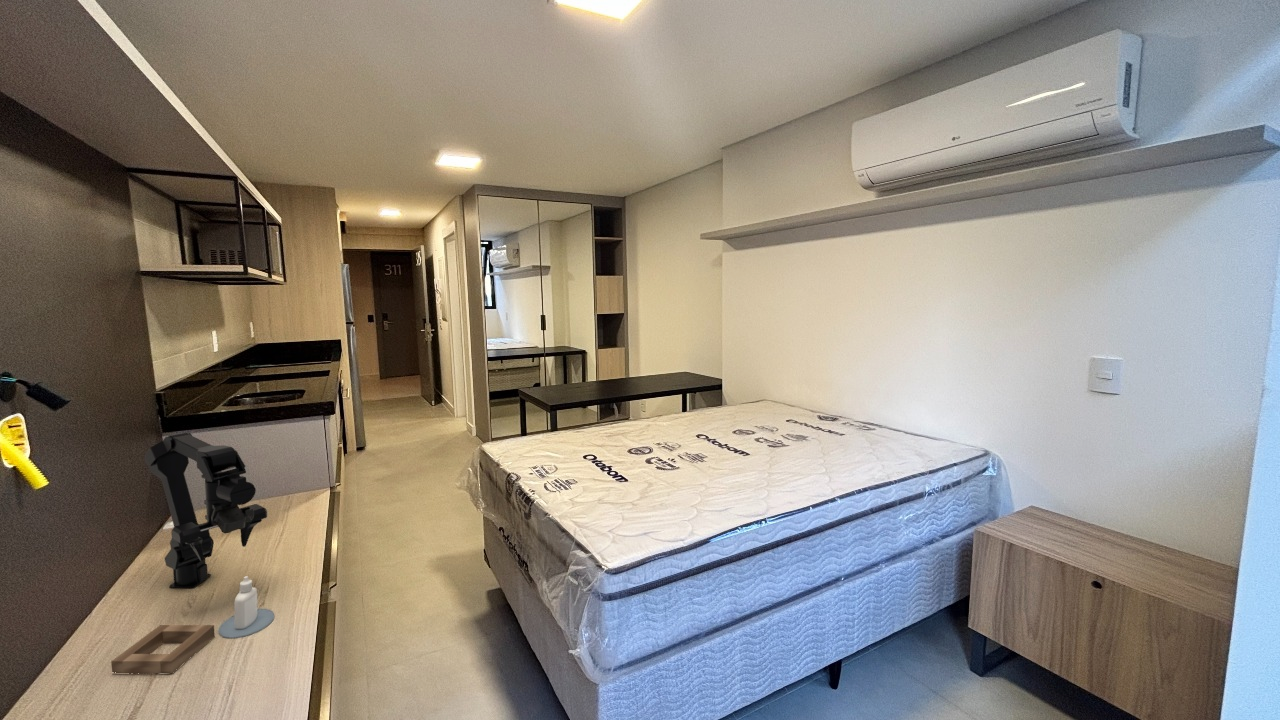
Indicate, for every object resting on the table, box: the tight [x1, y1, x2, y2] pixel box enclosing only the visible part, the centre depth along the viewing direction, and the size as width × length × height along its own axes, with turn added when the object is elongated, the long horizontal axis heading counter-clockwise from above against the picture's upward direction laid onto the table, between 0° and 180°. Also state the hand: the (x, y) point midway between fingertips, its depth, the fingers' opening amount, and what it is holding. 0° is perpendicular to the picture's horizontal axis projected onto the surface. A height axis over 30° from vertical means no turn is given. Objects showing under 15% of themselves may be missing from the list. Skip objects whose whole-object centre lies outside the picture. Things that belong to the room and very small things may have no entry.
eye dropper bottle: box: [234, 575, 258, 629], centre depth 125 cm, size 4×6×12 cm
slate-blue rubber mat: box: [217, 608, 275, 639], centre depth 126 cm, size 11×11×1 cm
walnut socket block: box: [110, 624, 216, 675], centre depth 115 cm, size 12×12×3 cm
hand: (223, 553), depth 134 cm, fingers open, 9 cm apart
